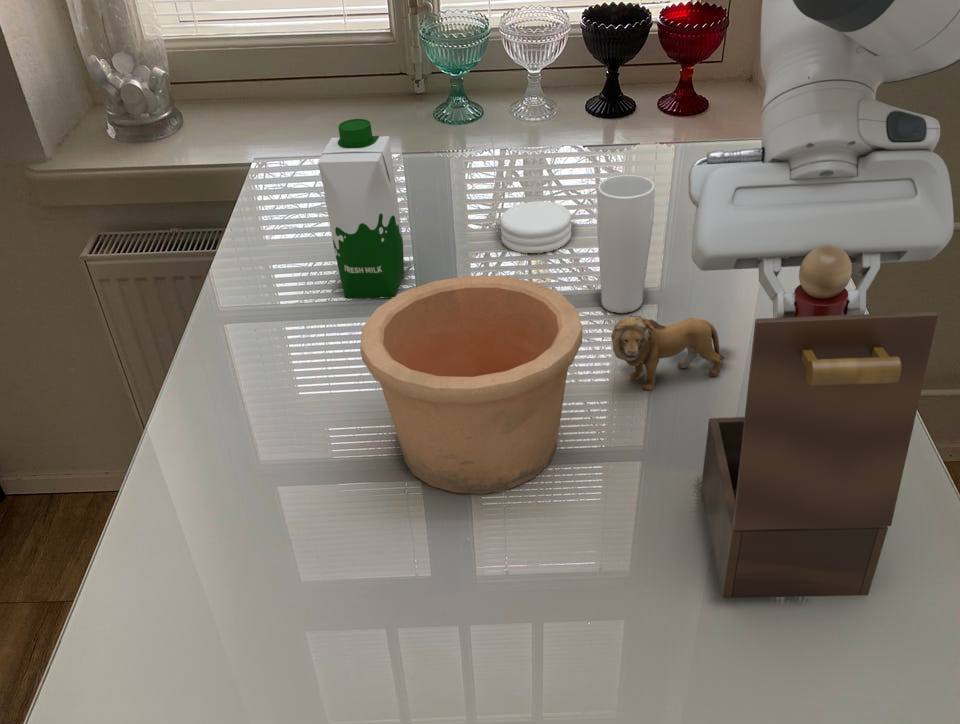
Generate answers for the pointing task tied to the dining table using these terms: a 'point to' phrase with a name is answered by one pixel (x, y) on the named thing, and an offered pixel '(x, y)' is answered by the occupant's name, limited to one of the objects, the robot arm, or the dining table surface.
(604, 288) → the drinking glass
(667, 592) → the dining table surface
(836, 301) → the peg doll
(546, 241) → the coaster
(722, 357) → the lion figurine
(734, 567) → the box
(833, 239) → the robot arm
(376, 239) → the milk carton
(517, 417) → the pottery
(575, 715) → the dining table surface
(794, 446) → the lid
